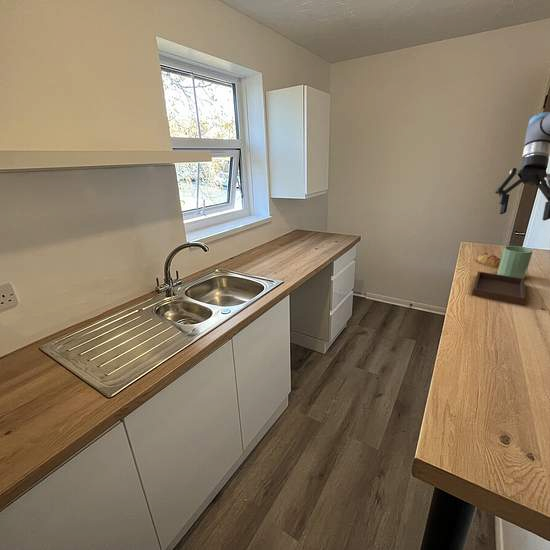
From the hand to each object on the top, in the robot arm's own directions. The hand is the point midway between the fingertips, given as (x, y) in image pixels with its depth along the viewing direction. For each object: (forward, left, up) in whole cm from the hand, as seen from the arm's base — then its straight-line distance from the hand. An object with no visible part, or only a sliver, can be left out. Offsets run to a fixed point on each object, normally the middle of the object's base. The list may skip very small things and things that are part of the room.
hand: (524, 216), depth 106 cm
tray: (+10, +15, -22) cm, 29 cm away
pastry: (+1, -12, -23) cm, 25 cm away
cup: (0, +2, -22) cm, 23 cm away
